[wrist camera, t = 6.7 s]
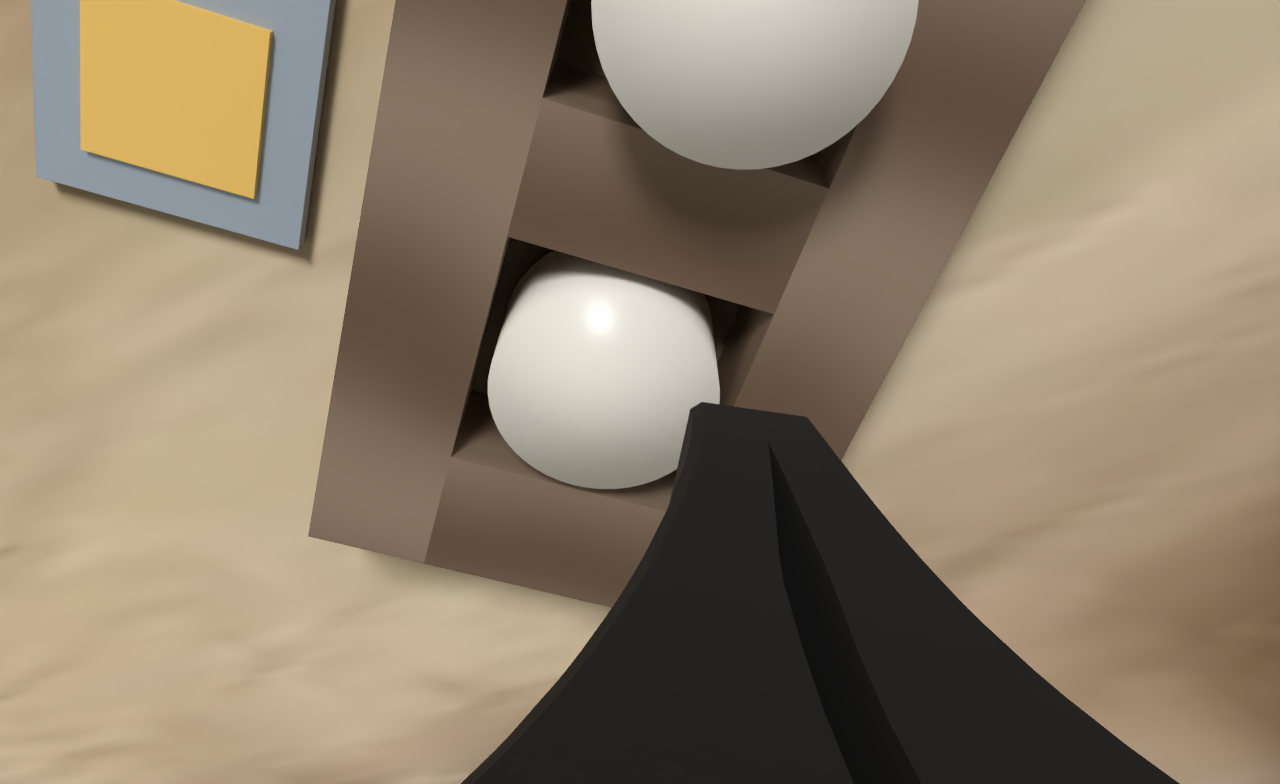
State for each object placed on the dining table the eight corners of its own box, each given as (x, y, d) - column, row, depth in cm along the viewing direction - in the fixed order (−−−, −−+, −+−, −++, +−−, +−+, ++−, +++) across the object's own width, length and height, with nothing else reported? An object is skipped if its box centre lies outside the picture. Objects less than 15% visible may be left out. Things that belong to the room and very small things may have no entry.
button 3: (533, 210, 18) (517, 263, 16) (743, 272, 19) (754, 330, 17) (485, 390, 21) (466, 457, 19) (674, 440, 21) (676, 511, 19)
